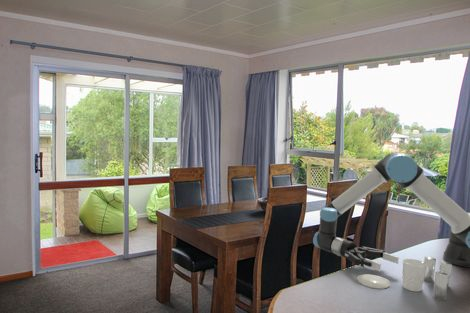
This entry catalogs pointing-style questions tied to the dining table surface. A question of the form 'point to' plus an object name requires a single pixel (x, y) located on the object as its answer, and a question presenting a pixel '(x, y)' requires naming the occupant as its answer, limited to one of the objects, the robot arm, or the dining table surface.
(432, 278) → the cylinder
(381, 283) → the coaster
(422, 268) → the white cup
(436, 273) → the cylinder
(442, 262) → the cylinder
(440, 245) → the dining table surface
